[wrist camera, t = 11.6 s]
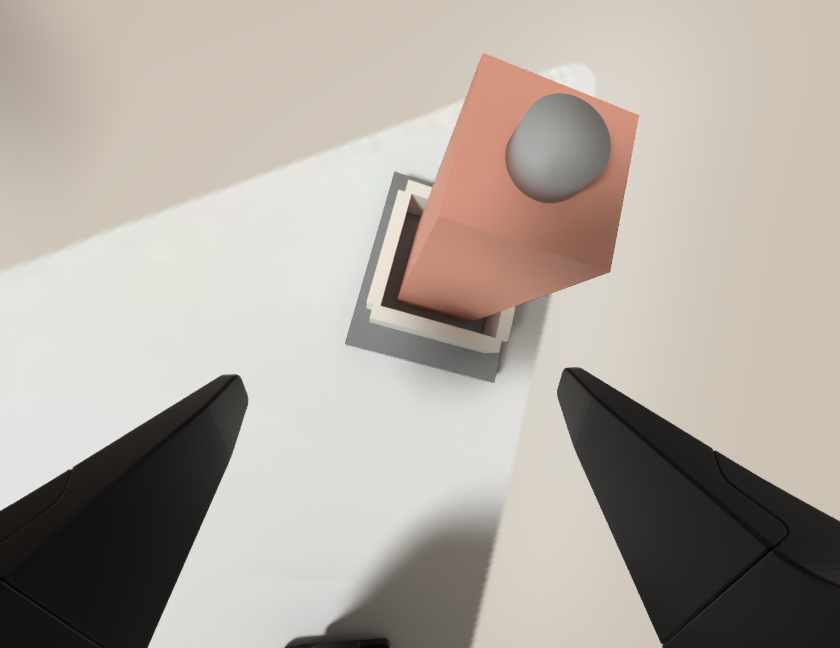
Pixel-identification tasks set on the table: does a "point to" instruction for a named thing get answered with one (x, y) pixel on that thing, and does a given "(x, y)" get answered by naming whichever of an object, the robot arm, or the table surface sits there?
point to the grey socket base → (409, 326)
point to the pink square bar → (520, 196)
